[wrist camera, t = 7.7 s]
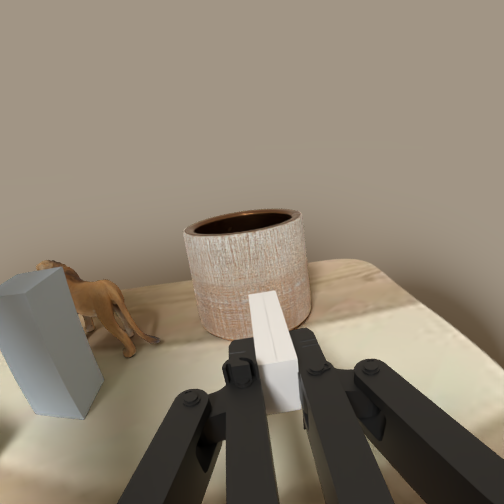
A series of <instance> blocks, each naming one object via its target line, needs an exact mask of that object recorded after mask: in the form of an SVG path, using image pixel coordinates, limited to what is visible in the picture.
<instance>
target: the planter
mask: <svg viewBox="0 0 504 504" xmlns="http://www.w3.org/2000/svg"><path fill="white" fill-rule="evenodd" d="M183 235H184V240H185V245H186V251H187V256H188V261H189V266H190V271H191V276H192V281H193V287H194V292H195V297H196V302H197V306H198V311H199V316H200V320H201V322H202V325H203V327H204V328H205V329H206V330H207V331H208V332H209V333H211V334H212V335H215V336H217V337H220V338H223V339H226V340H231V341H233V340H237V339H244V338H251V337H253V329H252V321H251V313H250V304H249V296H248V295H249V294H255V293H262V292H268V291H276V294H277V297H278V300H279V303H280V306H281V309H282V312H283V315H284V318H285V322H286V325H287V328H288V331H290V330H292V329H294V328H296V327H297V326H299V325H300V324H301V323H302V322H303V321H304V320H305V319H306V318H307V317H308V315H309V313H310V310H311V294H310V283H309V273H308V264H307V255H306V245H305V236H304V226H303V218H302V214H301V213H300V212H298V211H295V210H290V209H258V210H248V211H241V212H234V213H229V214H224V215H220V216H216V217H212V218H208V219H205V220H202V221H199V222H197V223H194V224H192V225H190V226H188V227H187V228H186V229H185V230H184V231H183Z"/></svg>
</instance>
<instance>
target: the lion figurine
mask: <svg viewBox="0 0 504 504" xmlns="http://www.w3.org/2000/svg"><path fill="white" fill-rule="evenodd" d="M36 267H37V268H36V269H37V271H39V270H44V269H50V268H56V267H63V270H64V274H65V277H66V280H67V284H68V287H69V290H70V293H71V296H72V299H73V302H74V305H75V308H76V311H77V314H81V315H83V317H84V320H85V331H86V332H90V331H93V330H94V329H95V326H94V323H93V320H92V317H96V316H98V318H99V320H100V321H101V323H102V324H103V325H104V327H105V328H106V329H107V330H108V331H109V332H110V333H111V334H113V335H114V336H115V337H116V338H118V339H119V340H120V341H121V342H122V343H123V344H124V345H125V348H124V349H123V354H124V356H125V357H127V358H128V357H132V356H133V355H134V354H135V352H136V349H135V346H134V344H133V342H132V341H131V339H130V337H132V336H133V335H134V332H133V330H134V331H135V332H136V333H137V335H139V336H140V337H141V338H143V339H144V340H146V341H147V342H149V343H151V344H154V343H159V342H160V339H159V338H157V337H154V336H150V335H147V334H145V333H143V332H142V331H141V330H140V329H139V328H138V327H137V325H136V324H135V322H134V321H133V319H132V317H131V316H130V314H129V312H128V310H127V308H126V306H125V304H124V297H123V295H122V293H121V291H120V289H119V288H118V287H117V285H115V284H114V283H113V282H111V281H109V280H106V279H105V280H98V281H96V282H87V281H83V280H81V279H80V278H79V276H78V274H77V273H76V272H75V271H74V270H73V269H71V268H70V267H67V266H66V265H65V264H61V263H60V262H55V261H50V260H45V261H42V262H41V263H40V264H38V265H37V266H36ZM113 310H114V311H115V312H116V314H117V316H118V317H119V318H120V319H121V321H122V322H123V325H124V327H125V330H124V331H123V330H122V329H121V328H120V326H119V325H118V323H117V322H116V320H115V318H114V311H113Z"/></svg>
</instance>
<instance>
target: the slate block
mask: <svg viewBox="0 0 504 504" xmlns="http://www.w3.org/2000/svg"><path fill="white" fill-rule="evenodd" d="M0 350H1V352H2V354H3V356H4V358H5V360H6V362H7V364H8V366H9V368H10V370H11V372H12V374H13V376H14V378H15V380H16V381H17V383H18V385H19V387H20V389H21V390H22V392H23V394H24V396H25V397H26V399H27V401H28V402H29V404H30V406H31V407H32V409H33V410H34V412H35V414H38V415H46V416H53V417H62V418H72V419H83V420H84V419H85V417H86V415H87V413H88V411H89V409H90V407H91V405H92V403H93V401H94V399H95V397H96V395H97V393H98V391H99V389H100V387H101V385H102V383H103V381H104V378H103V376H102V373H101V371H100V369H99V367H98V364H97V362H96V360H95V357H94V355H93V353H92V350H91V348H90V345H89V343H88V340H87V338H86V335H85V333H84V330H83V327H82V325H81V322H80V319H79V317H78V314H77V311H76V308H75V305H74V302H73V299H72V296H71V293H70V290H69V287H68V284H67V280H66V277H65V274H64V270H63V267H56V268H50V269H44V270H39V271H33V272H28V273H22V274H17V275H15V276H14V277H12V278H10V279H9V280H7V281H6V282H4V283H3V284H1V285H0Z"/></svg>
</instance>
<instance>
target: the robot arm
mask: <svg viewBox="0 0 504 504" xmlns="http://www.w3.org/2000/svg"><path fill="white" fill-rule="evenodd" d="M248 296H249V304H250V313H251V321H252V329H253V337H251V338H244V339H237V340H233V341H232V343H231V344H230V345H229V360H227V361H226V362H225V363H224V364H223V366H222V370H223V374H224V378H225V382H226V385H225V386H224V387H223V388H222V389H221V390H219V391H217V392H214V393H211V394H208V395H207V393H206V392H204V391H203V390H200V389H189V390H186V391H183V392H182V393H180V394H179V395H178V396H177V397H176V398H175V400H174V402H173V404H172V405H171V407H170V409H169V411H168V413H167V414H166V416H165V418H164V420H163V422H162V423H161V425H160V427H159V429H158V431H157V433H156V434H155V436H154V438H153V440H152V442H151V443H150V445H149V447H148V449H147V451H146V452H145V454H144V456H143V458H142V460H141V461H140V463H139V465H138V467H137V469H136V470H135V472H134V474H133V476H132V478H131V479H130V481H129V483H128V485H127V487H126V488H125V490H124V492H123V494H122V496H121V497H120V499H119V501H118V503H117V504H201V503H202V501H203V498H204V495H205V492H206V489H207V487H208V484H209V481H210V478H211V475H212V472H213V469H214V466H215V464H216V461H217V458H218V455H219V452H220V449H221V446H222V441H223V440H226V501H227V504H280V502H279V495H278V488H277V482H276V475H275V469H274V462H273V455H272V448H271V442H270V435H269V428H268V422H267V416H266V415H270V414H277V413H283V412H289V411H294V410H300V409H301V405H302V409H303V422H304V429H306V430H307V434H308V438H309V442H310V445H311V449H312V453H313V457H314V461H315V464H316V468H317V472H318V476H319V480H320V483H321V487H322V491H323V495H324V499H325V503H326V504H394V501H393V499H392V497H391V494H390V492H389V490H388V487H387V485H386V483H385V480H384V478H383V476H382V473H381V471H380V469H379V466H378V464H377V462H376V460H375V457H374V455H373V453H372V451H371V448H370V446H369V444H368V441H367V439H366V437H367V438H368V439H369V440H370V441H371V442H372V443H373V445H374V446H375V447H376V448H377V449H378V450H379V451H380V452H381V454H382V455H383V456H384V457H385V458H386V459H387V460H388V461H389V463H390V464H391V465H392V466H393V467H394V468H395V469H396V470H397V472H398V473H399V474H400V475H401V476H402V477H403V478H404V479H405V480H406V482H407V483H408V484H409V485H410V486H411V487H412V488H413V489H414V490H415V491H416V493H417V494H418V495H419V496H420V497H421V498H422V499H423V500H424V501H425V502H426V503H427V504H504V459H502V458H501V457H500V456H499V455H497V454H496V453H495V452H494V451H492V450H491V449H490V448H489V447H487V446H486V445H485V444H484V443H483V442H481V441H480V440H479V439H478V438H476V437H475V436H474V435H473V434H471V433H470V432H469V431H468V430H467V429H465V428H464V427H463V426H462V425H460V424H459V423H458V422H457V421H455V420H454V419H453V418H452V417H451V416H449V415H448V414H447V413H446V412H444V411H443V410H442V409H441V408H439V407H438V406H437V405H436V404H435V403H433V402H432V401H431V400H430V399H428V398H427V397H426V396H425V395H424V394H422V393H421V392H420V391H419V390H417V389H416V388H415V387H414V386H412V385H411V384H410V383H409V382H408V381H406V380H405V379H404V378H403V377H401V376H400V375H399V374H398V373H397V372H395V371H394V370H393V369H392V368H390V367H389V366H388V365H387V364H385V363H384V362H382V361H381V360H377V359H365V360H362V361H360V362H359V363H357V364H356V366H355V367H354V370H341V369H336V368H334V367H333V365H332V364H331V363H329V362H327V361H326V359H325V357H324V355H323V353H322V350H321V348H320V346H319V344H318V342H317V339H316V337H315V335H314V333H313V332H312V331H311V330H309V329H308V328H301V329H296V330H290V331H288V328H287V325H286V322H285V318H284V315H283V312H282V309H281V306H280V303H279V300H278V297H277V294H276V291H268V292H262V293H255V294H249V295H248ZM364 434H365V435H366V437H365V435H364Z"/></svg>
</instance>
